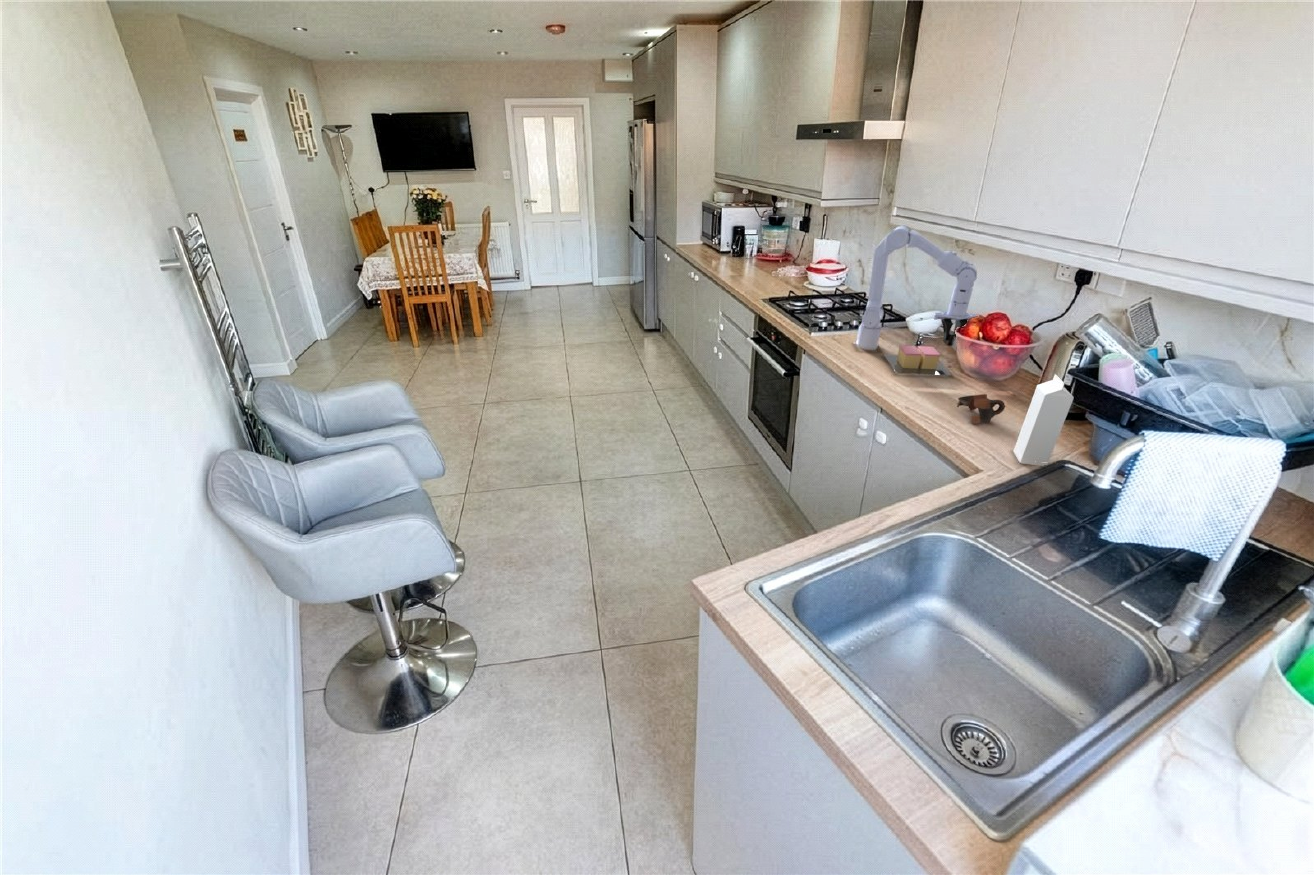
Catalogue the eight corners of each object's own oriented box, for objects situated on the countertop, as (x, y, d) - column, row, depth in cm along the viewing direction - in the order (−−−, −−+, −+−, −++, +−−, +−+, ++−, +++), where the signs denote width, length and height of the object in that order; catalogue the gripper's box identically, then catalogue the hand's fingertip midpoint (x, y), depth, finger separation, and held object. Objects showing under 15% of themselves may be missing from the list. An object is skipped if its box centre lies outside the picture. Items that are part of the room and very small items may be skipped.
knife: (942, 340, 201) (945, 330, 199) (949, 341, 201) (952, 330, 199) (960, 358, 186) (963, 346, 184) (967, 358, 186) (970, 346, 184)
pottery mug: (961, 425, 159) (958, 396, 159) (955, 425, 168) (952, 398, 168) (1010, 420, 155) (1006, 390, 155) (1001, 420, 164) (998, 392, 164)
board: (882, 356, 205) (883, 354, 205) (934, 358, 204) (934, 356, 203) (895, 375, 190) (896, 373, 189) (951, 377, 188) (952, 375, 188)
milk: (1038, 455, 144) (1069, 375, 133) (1046, 467, 139) (1079, 384, 128) (1012, 451, 145) (1041, 372, 134) (1019, 463, 140) (1050, 382, 129)
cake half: (896, 359, 200) (899, 345, 198) (911, 360, 200) (914, 346, 197) (902, 368, 193) (906, 353, 191) (917, 368, 193) (921, 354, 190)
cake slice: (914, 360, 200) (917, 346, 197) (929, 360, 199) (932, 346, 197) (921, 368, 193) (925, 354, 190) (936, 369, 192) (940, 354, 190)
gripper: (941, 303, 189) (931, 342, 195) (986, 305, 187) (975, 344, 194) (934, 298, 195) (925, 336, 201) (978, 299, 193) (967, 337, 200)
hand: (949, 339), depth 198 cm, fingers closed on knife, 2 cm apart
